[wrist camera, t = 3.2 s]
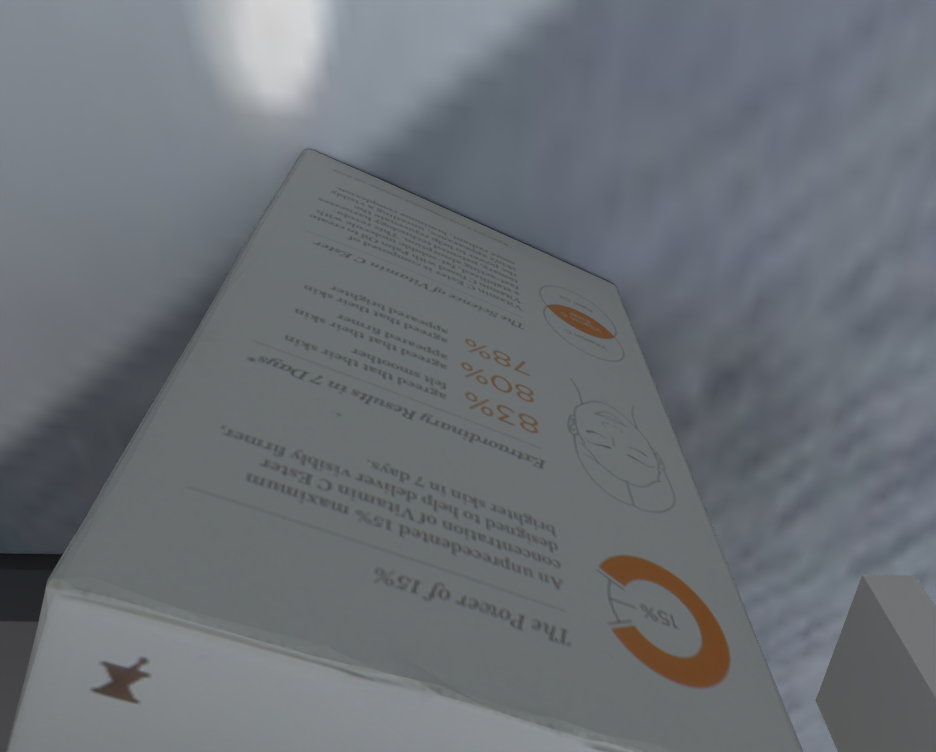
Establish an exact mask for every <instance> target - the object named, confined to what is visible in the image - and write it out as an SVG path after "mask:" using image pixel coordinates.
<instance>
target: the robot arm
mask: <svg viewBox="0 0 936 752" xmlns="http://www.w3.org/2000/svg"><path fill="white" fill-rule="evenodd" d="M816 702H817V705H818V707H819V709H820V711H821V714H822V716H823V718H824V720H825V723H826V725H827V727H828V730H829V732H830V734H831V736H832V739H833V741H834V743H835V745H836V748H837V750H838V752H936V606H935V605H934V603H933V602H932V600H931V599H930V597H929V596H928V594H927V593H926V591H925V590H924V588H923V587H922V585H921V584H920V582H919V581H918V579H917V578H916V576H906V575H862V577H861V580H860V583H859V585H858V588H857V591H856V593H855V596H854V599H853V602H852V604H851V607H850V610H849V612H848V615H847V618H846V620H845V623H844V626H843V628H842V631H841V634H840V637H839V639H838V642H837V645H836V647H835V650H834V653H833V655H832V658H831V661H830V663H829V666H828V669H827V672H826V674H825V677H824V680H823V682H822V685H821V688H820V690H819V693H818V696H817V698H816Z"/></svg>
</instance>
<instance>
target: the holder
mask: <svg viewBox="0 0 936 752" xmlns="http://www.w3.org/2000/svg"><path fill="white" fill-rule="evenodd" d="M61 557H62V555H2V554H0V752H6V750H7V746H8V742H9V738H10V734H11V730H12V727H13V723H14V719H15V715H16V711H17V707H18V703H19V699H20V695H21V692H22V688H23V684H24V680H25V676H26V672H27V668H28V664H29V660H30V656H31V652H32V648H33V644H34V640H35V635H36V631H37V627H38V622H39V618H40V613H41V608H42V603H43V599H44V594H45V589H46V584H47V580H48V579H49V577H50V575H51V574H52V572H53V570H54V568H55V567H56V565H57V563H58V562H59V560H60V558H61Z"/></svg>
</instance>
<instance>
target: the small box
mask: <svg viewBox="0 0 936 752" xmlns="http://www.w3.org/2000/svg"><path fill="white" fill-rule="evenodd" d="M6 752H803V750H802V747H801V745H800V743H799V740H798V738H797V735H796V733H795V730H794V728H793V726H792V723H791V721H790V718H789V716H788V714H787V711H786V709H785V706H784V704H783V701H782V699H781V696H780V694H779V691H778V689H777V687H776V684H775V682H774V679H773V677H772V674H771V672H770V669H769V667H768V664H767V662H766V660H765V657H764V655H763V652H762V650H761V647H760V645H759V642H758V640H757V637H756V635H755V632H754V630H753V627H752V624H751V622H750V619H749V617H748V614H747V612H746V609H745V607H744V604H743V602H742V599H741V597H740V594H739V592H738V589H737V587H736V584H735V582H734V579H733V577H732V574H731V572H730V569H729V567H728V564H727V562H726V559H725V557H724V554H723V552H722V549H721V547H720V544H719V542H718V539H717V537H716V534H715V532H714V529H713V527H712V524H711V522H710V519H709V517H708V514H707V512H706V509H705V507H704V504H703V502H702V499H701V497H700V494H699V492H698V489H697V487H696V484H695V482H694V479H693V477H692V474H691V472H690V469H689V467H688V464H687V462H686V459H685V457H684V455H683V452H682V450H681V447H680V445H679V442H678V440H677V437H676V435H675V432H674V430H673V427H672V425H671V422H670V420H669V417H668V415H667V412H666V410H665V407H664V405H663V402H662V400H661V397H660V395H659V392H658V390H657V387H656V385H655V382H654V380H653V377H652V375H651V372H650V370H649V367H648V365H647V362H646V360H645V358H644V355H643V353H642V350H641V348H640V345H639V343H638V340H637V338H636V335H635V333H634V330H633V328H632V325H631V323H630V320H629V318H628V315H627V313H626V310H625V308H624V305H623V303H622V300H621V298H620V295H619V292H618V290H617V288H616V286H615V285H613V284H611V283H610V282H607V281H605V280H603V279H601V278H599V277H596V276H594V275H592V274H590V273H587V272H585V271H583V270H581V269H579V268H576V267H574V266H572V265H570V264H568V263H566V262H563V261H561V260H559V259H557V258H555V257H552V256H550V255H548V254H546V253H544V252H541V251H539V250H537V249H535V248H532V247H530V246H528V245H526V244H524V243H521V242H519V241H517V240H515V239H512V238H510V237H508V236H506V235H503V234H501V233H499V232H497V231H495V230H492V229H490V228H488V227H486V226H483V225H481V224H479V223H477V222H474V221H472V220H470V219H468V218H465V217H463V216H461V215H459V214H456V213H454V212H452V211H450V210H448V209H445V208H443V207H441V206H439V205H436V204H434V203H432V202H430V201H428V200H425V199H423V198H421V197H419V196H416V195H414V194H412V193H409V192H407V191H405V190H403V189H400V188H398V187H396V186H394V185H391V184H389V183H387V182H385V181H382V180H380V179H378V178H376V177H373V176H371V175H369V174H366V173H364V172H362V171H360V170H357V169H355V168H353V167H350V166H348V165H345V164H343V163H341V162H339V161H336V160H334V159H332V158H330V157H327V156H325V155H323V154H320V153H318V152H316V151H314V150H310V149H305V150H304V151H303V152H302V154H301V155H300V157H299V158H298V160H297V161H296V163H295V164H294V166H293V168H292V169H291V171H290V173H289V174H288V176H287V177H286V179H285V181H284V182H283V184H282V186H281V188H280V189H279V191H278V192H277V194H276V195H275V196H274V198H273V199H272V201H271V203H270V204H269V206H268V207H267V209H266V210H265V212H264V214H263V215H262V217H261V218H260V220H259V222H258V223H257V225H256V227H255V228H254V230H253V231H252V233H251V235H250V237H249V238H248V240H247V242H246V244H245V246H244V247H243V249H242V251H241V253H240V254H239V256H238V258H237V259H236V261H235V263H234V265H233V266H232V268H231V270H230V272H229V273H228V275H227V277H226V279H225V280H224V282H223V284H222V286H221V288H220V289H219V291H218V293H217V295H216V296H215V298H214V300H213V302H212V303H211V305H210V307H209V309H208V310H207V312H206V314H205V316H204V317H203V319H202V321H201V323H200V324H199V326H198V328H197V329H196V331H195V333H194V335H193V336H192V338H191V340H190V341H189V343H188V345H187V347H186V348H185V350H184V352H183V353H182V355H181V357H180V358H179V360H178V362H177V363H176V365H175V367H174V368H173V370H172V372H171V373H170V375H169V377H168V378H167V380H166V382H165V383H164V385H163V387H162V388H161V390H160V392H159V393H158V395H157V397H156V398H155V400H154V402H153V403H152V405H151V407H150V408H149V410H148V412H147V413H146V415H145V417H144V418H143V420H142V422H141V424H140V425H139V427H138V429H137V430H136V432H135V434H134V435H133V437H132V439H131V440H130V442H129V444H128V445H127V447H126V449H125V450H124V452H123V454H122V456H121V457H120V459H119V461H118V462H117V464H116V466H115V467H114V469H113V471H112V472H111V474H110V476H109V477H108V479H107V481H106V482H105V484H104V486H103V488H102V489H101V491H100V493H99V495H98V496H97V498H96V500H95V502H94V503H93V505H92V507H91V509H90V510H89V512H88V514H87V516H86V517H85V519H84V521H83V523H82V524H81V526H80V527H79V529H78V531H77V532H76V534H75V535H74V537H73V539H72V540H71V542H70V543H69V545H68V547H67V548H66V550H65V552H64V553H63V555H62V557H61V558H60V560H59V562H58V563H57V565H56V567H55V568H54V570H53V572H52V574H51V575H50V577H49V579H48V580H47V584H46V589H45V594H44V599H43V603H42V608H41V613H40V618H39V622H38V627H37V631H36V635H35V640H34V644H33V648H32V652H31V656H30V660H29V664H28V668H27V672H26V676H25V680H24V684H23V688H22V692H21V695H20V699H19V703H18V707H17V711H16V715H15V719H14V723H13V727H12V730H11V734H10V738H9V742H8V746H7V750H6Z"/></svg>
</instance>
